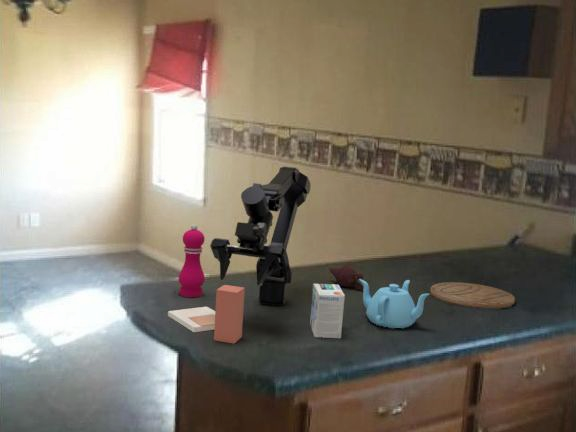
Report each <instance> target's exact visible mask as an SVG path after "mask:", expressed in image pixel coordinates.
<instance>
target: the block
mask: <svg viewBox="0 0 576 432" xmlns="http://www.w3.org/2000/svg"><path fill="white" fill-rule="evenodd" d="M245 290H246V289H245V287H242V286H237V285H236V286H235V285H228V284H224V285H221V286H219V287H218V288H216V293H215V294H216V295H215V310H214V311H215V328H214V330H213V331H214V332H213V341H217V342H222V343H228V344H236V343H237V342H238V341H239V340H240V339H241V338H242V335H243V320H244V319H243V318H244V307H245V306H244V304H245V292H246V291H245Z"/></svg>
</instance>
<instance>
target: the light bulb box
mask: <svg viewBox="0 0 576 432" xmlns="http://www.w3.org/2000/svg"><path fill="white" fill-rule="evenodd" d="M345 297H346V294H345V293H344V292H343V290H342V288H341V286H339V285H338V283H337V284H334V283H333V284H330V283H329V284H328V283H313V284H312V296H311V309H310V321H309V325H310V327H311V328H310V329H311V331H312V333H313V337H314V338H321V337H322V339H323V338H324V339H325V338H326V339H342V330H343V329H342V328H343V320H344V319H343V318H344V317H343V316H344V306H345V299H346V298H345Z"/></svg>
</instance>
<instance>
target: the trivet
mask: <svg viewBox="0 0 576 432" xmlns="http://www.w3.org/2000/svg"><path fill="white" fill-rule="evenodd" d="M429 292H431V293H430V296H431V295H433V296H434V297H435V298H437V299H440V300H442V301H445V302H448V303H453V304H457V305H461V306H468V307H475V308H504V307H509V306H511V305H513V304H514V305H515V302H516V298H515V296H514V295H513V294H512V293H510V292H508V291H505V290H503V289H500V288H497V287H494V286H488V285H484V284H483V285H482V284H478V283H471V282H470V283H469V282H456V281H455V282H453V281H452V282H450V281H449V282H439V283H436V284H433V285H432V286H431V287H430V291H429ZM433 296H432V297H433ZM434 297H433V298H434ZM435 298H434V299H435ZM437 299H436V300H437ZM440 300H439V301H440ZM442 301H441V302H442ZM445 302H444V303H445ZM448 303H447V304H448Z"/></svg>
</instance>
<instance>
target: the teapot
mask: <svg viewBox="0 0 576 432" xmlns="http://www.w3.org/2000/svg"><path fill="white" fill-rule="evenodd" d="M359 280H360V281H359ZM359 280H358V281H359V282H360V284H361V285H362V286H363V291H362V292H363V293H362V302H363V305H364V307H365V308H366V313H365V314H366V316H367V318H368V319H369V321H370V322H371V323H372V324H373V323H374V325H375V324H376V325H375V326H378V325H379V326H378V327H381V326H383V327H382V328H386V327H388V328H387V329H395V328H401V329H406V327H407V328H409V326H410V327H411V326H412V325H413V324H415V322H416V321H417V319H419V318H420V317H421V316H422V314H423V312H424V305H425V300H426V298H427V297H428V296H429V295H430V293H422V294H420V296H419V297H418V300H417V304H416V305H415V302H414V300H413V298H412V296H411V294H410V293H409V285H410V282H411V280H410V279H406V280H405V281H403V284H402V286H401V288H400V285H398V284H396V283H390V284H389V286H385V287H380V288H379V289H378V290H377V291H376V292H375V293H374V294H373V295H372V296H371V294H370V285H369V284H368V282H367V281H365V280H364V279H363V280H362V279H359Z"/></svg>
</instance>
